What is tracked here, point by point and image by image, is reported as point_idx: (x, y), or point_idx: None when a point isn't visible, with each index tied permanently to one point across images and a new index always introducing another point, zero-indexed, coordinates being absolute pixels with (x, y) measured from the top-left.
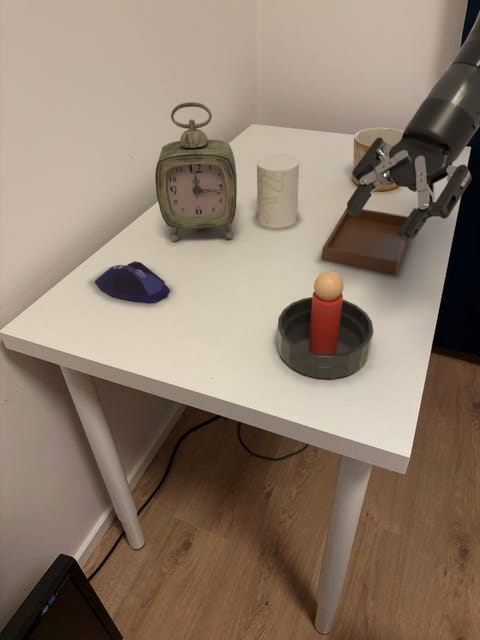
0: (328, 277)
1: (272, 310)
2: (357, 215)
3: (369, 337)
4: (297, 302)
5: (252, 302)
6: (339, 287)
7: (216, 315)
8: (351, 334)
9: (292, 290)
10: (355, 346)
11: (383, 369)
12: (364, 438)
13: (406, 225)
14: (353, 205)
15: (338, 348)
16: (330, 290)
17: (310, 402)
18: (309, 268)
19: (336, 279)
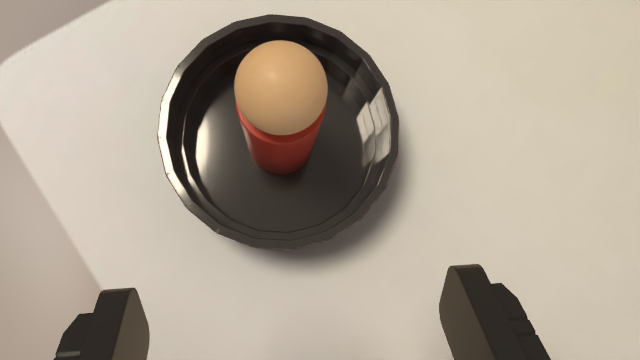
0: (271, 58)
1: (454, 137)
2: (441, 320)
3: (175, 182)
4: (392, 130)
5: (506, 118)
6: (236, 87)
7: (508, 25)
8: (270, 223)
9: (494, 228)
10: (233, 200)
11: (148, 207)
12: (44, 44)
13: (96, 330)
14: (462, 287)
15: (252, 165)
16: (244, 57)
17: (174, 23)
18: (553, 331)
19: (252, 80)
